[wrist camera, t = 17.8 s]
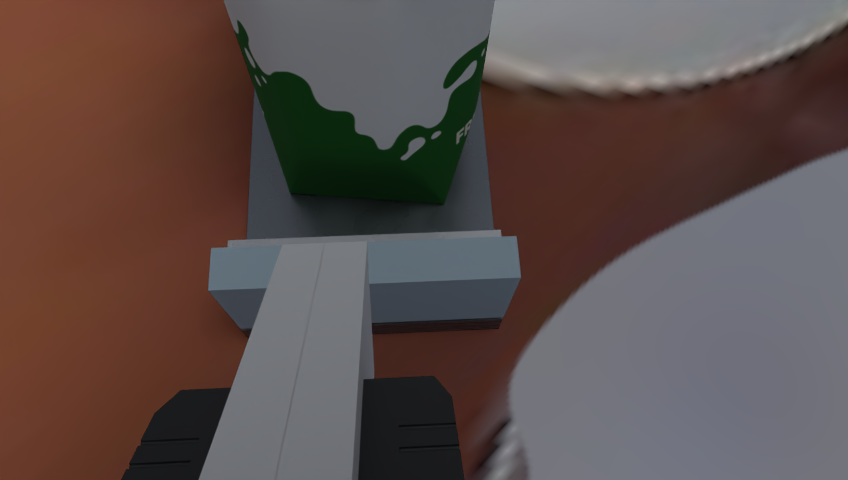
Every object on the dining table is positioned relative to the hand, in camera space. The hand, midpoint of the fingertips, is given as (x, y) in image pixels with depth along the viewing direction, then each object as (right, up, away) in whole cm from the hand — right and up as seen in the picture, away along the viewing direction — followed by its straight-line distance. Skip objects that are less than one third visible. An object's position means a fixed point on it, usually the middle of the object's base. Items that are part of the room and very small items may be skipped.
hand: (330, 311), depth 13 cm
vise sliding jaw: (0, -1, +17) cm, 17 cm away
